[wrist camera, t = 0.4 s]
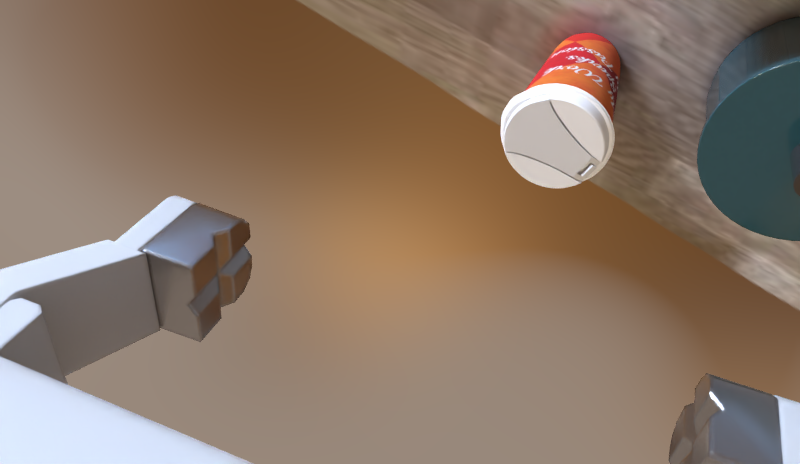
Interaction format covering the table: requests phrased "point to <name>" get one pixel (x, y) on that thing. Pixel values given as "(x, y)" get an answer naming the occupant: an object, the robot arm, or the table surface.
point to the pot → (755, 57)
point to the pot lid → (756, 152)
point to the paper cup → (565, 114)
